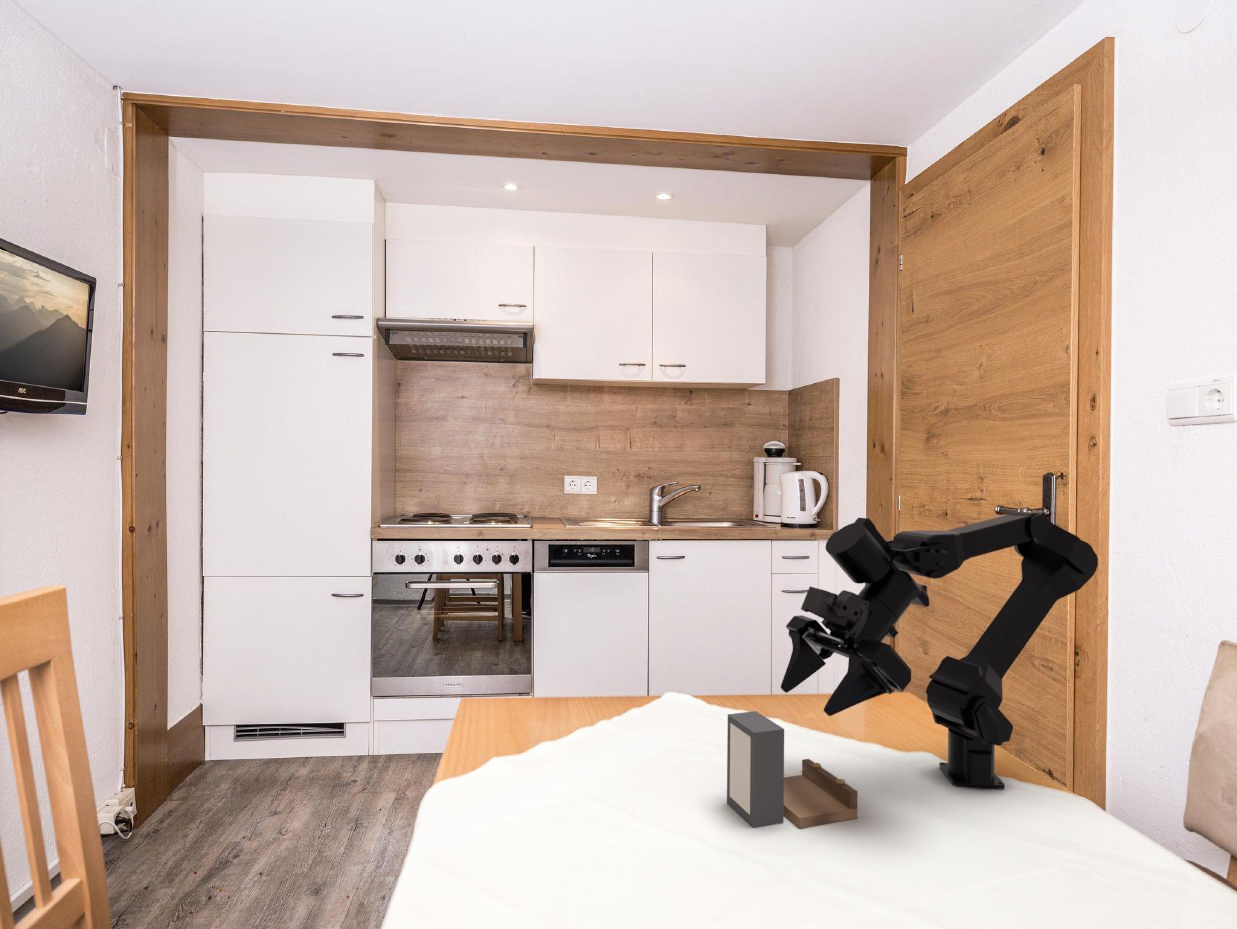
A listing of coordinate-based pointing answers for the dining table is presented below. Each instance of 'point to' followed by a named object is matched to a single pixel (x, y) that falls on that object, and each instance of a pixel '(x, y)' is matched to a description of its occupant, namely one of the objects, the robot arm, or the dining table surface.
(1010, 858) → the dining table surface
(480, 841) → the dining table surface
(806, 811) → the drawer
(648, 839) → the dining table surface
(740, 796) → the grey box
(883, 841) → the dining table surface
